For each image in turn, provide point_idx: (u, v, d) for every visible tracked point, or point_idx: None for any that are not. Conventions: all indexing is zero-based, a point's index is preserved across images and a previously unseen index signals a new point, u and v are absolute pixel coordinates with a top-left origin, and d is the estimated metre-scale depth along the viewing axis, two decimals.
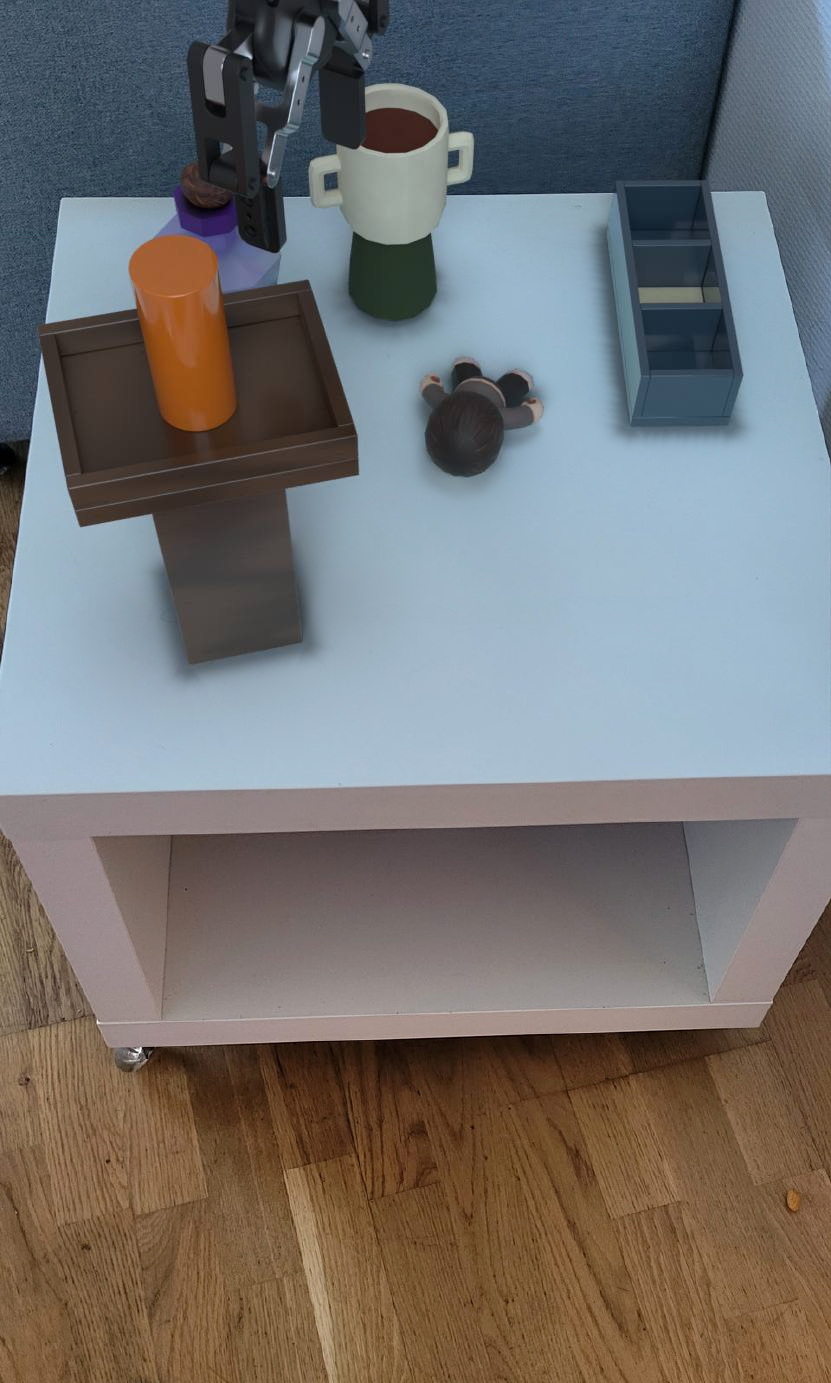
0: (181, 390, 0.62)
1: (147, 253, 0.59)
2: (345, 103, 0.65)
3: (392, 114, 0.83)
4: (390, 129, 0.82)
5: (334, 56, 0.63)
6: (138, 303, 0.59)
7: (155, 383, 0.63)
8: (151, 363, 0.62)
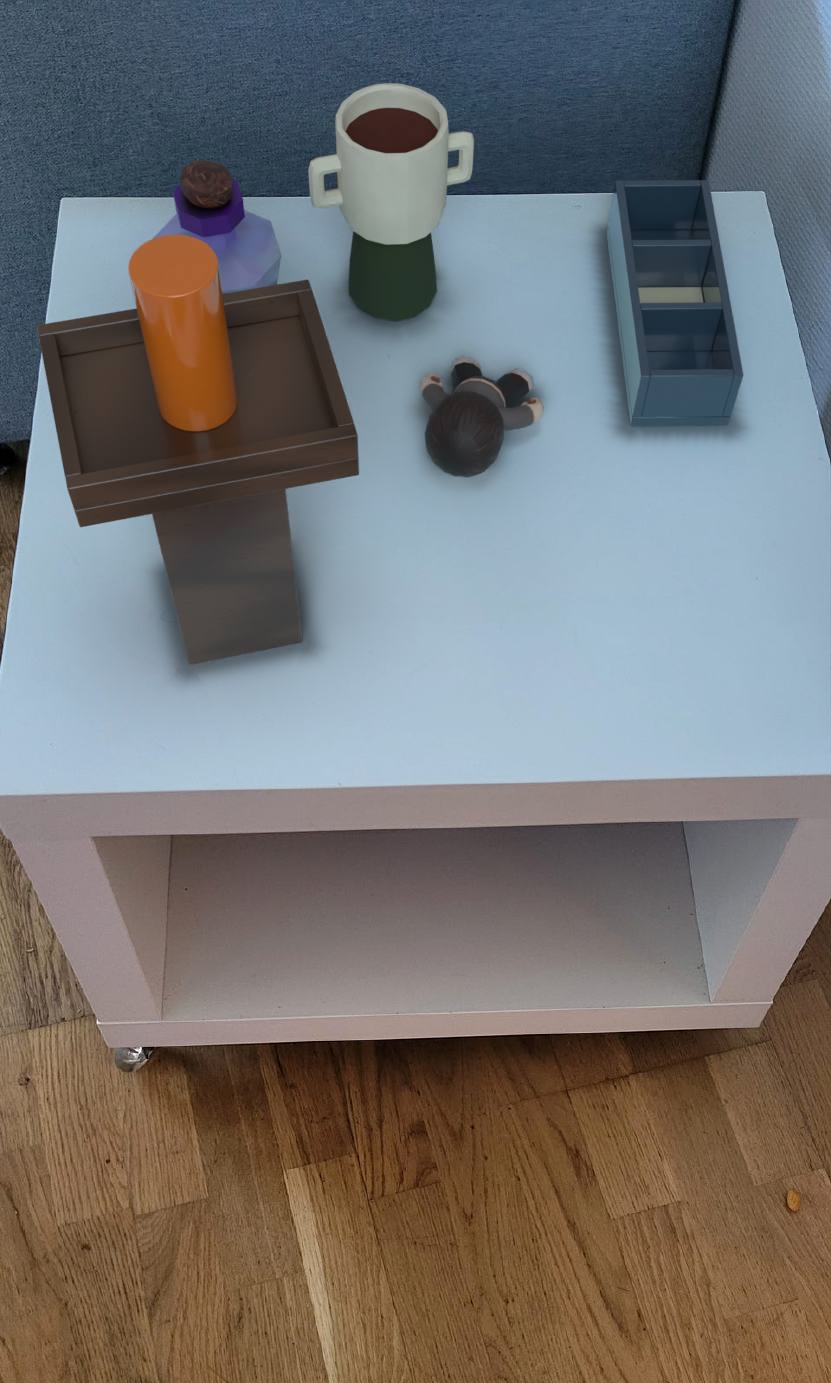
0: (181, 390, 0.62)
1: (147, 253, 0.59)
2: None
3: (392, 114, 0.83)
4: (390, 129, 0.82)
5: None
6: (138, 303, 0.59)
7: (155, 383, 0.63)
8: (151, 363, 0.62)
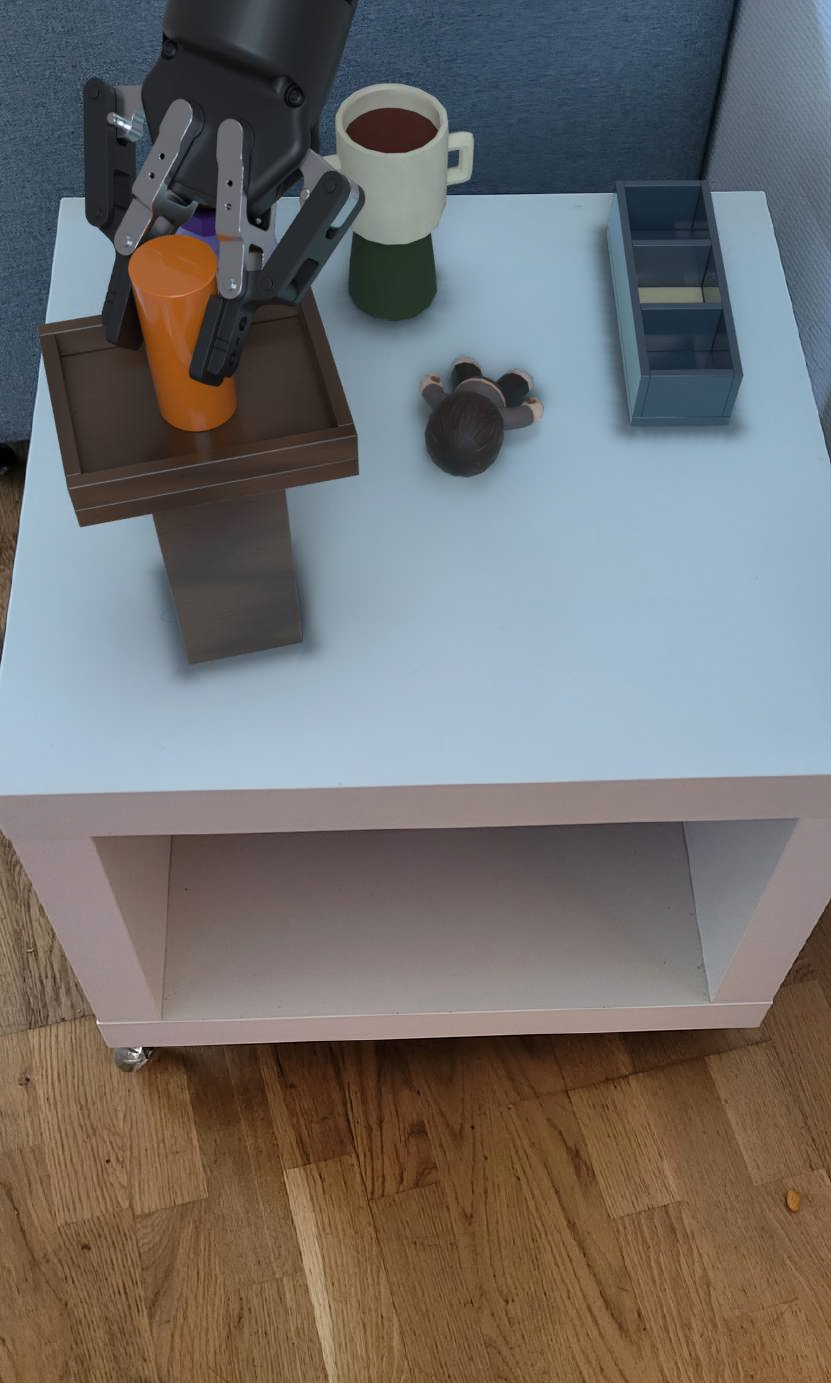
0: (181, 390, 0.62)
1: (147, 253, 0.59)
2: None
3: (392, 114, 0.83)
4: (390, 129, 0.82)
5: None
6: (138, 303, 0.59)
7: (155, 383, 0.63)
8: (151, 363, 0.62)
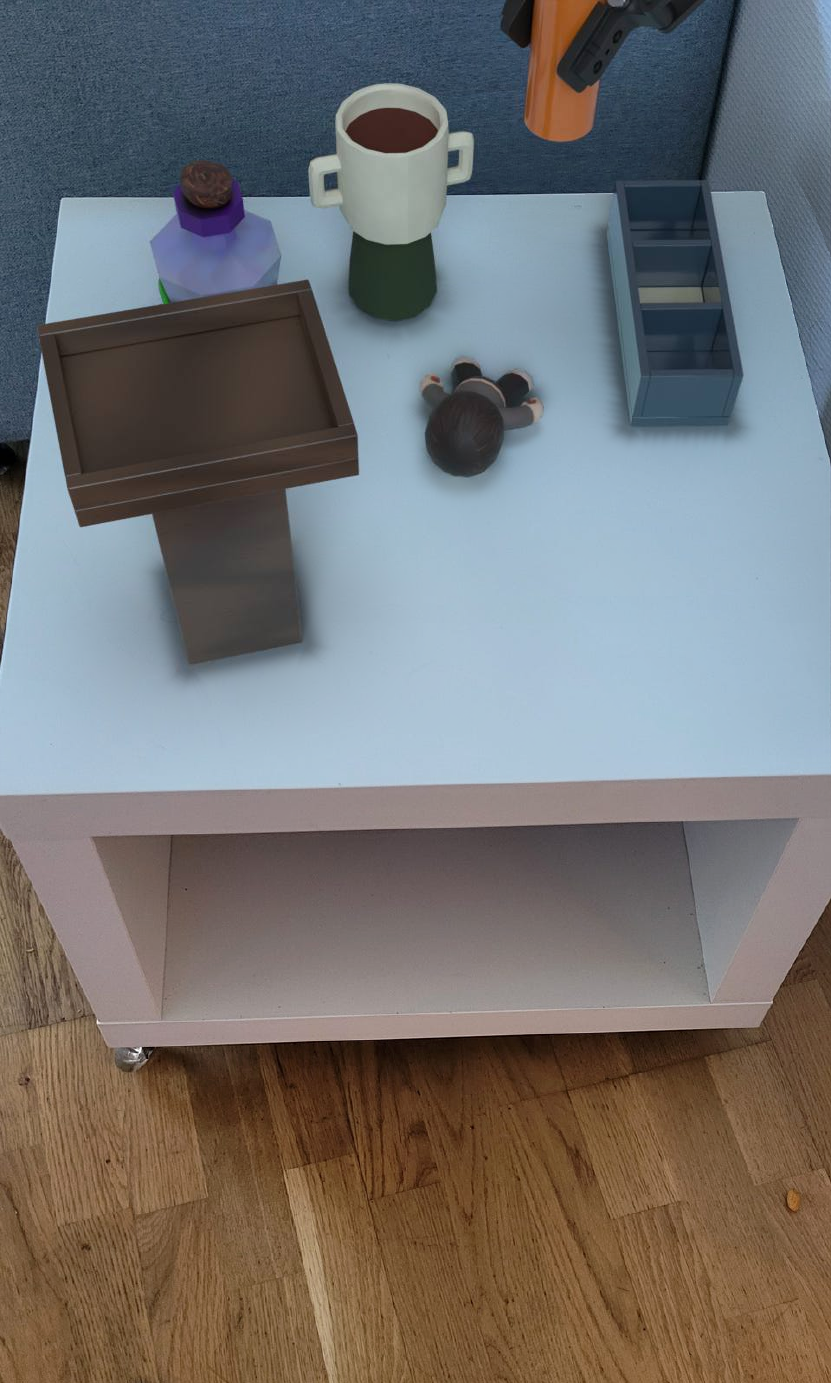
0: (546, 92, 0.70)
1: None
2: None
3: (392, 114, 0.83)
4: (390, 129, 0.82)
5: None
6: None
7: (528, 83, 0.71)
8: (530, 61, 0.70)
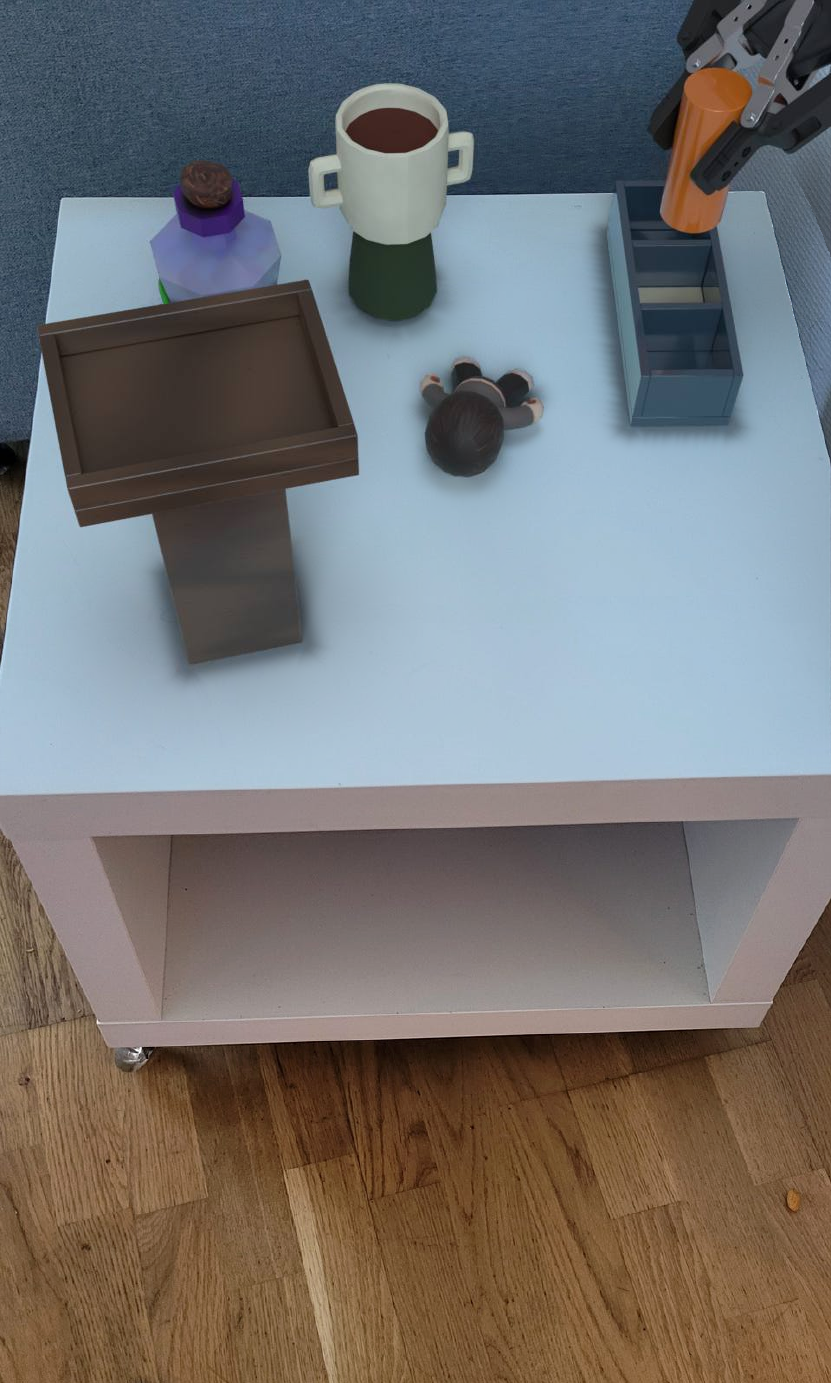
0: (681, 191, 0.80)
1: (705, 75, 0.77)
2: None
3: (392, 114, 0.83)
4: (390, 129, 0.82)
5: None
6: (680, 108, 0.77)
7: (666, 180, 0.81)
8: (670, 162, 0.80)
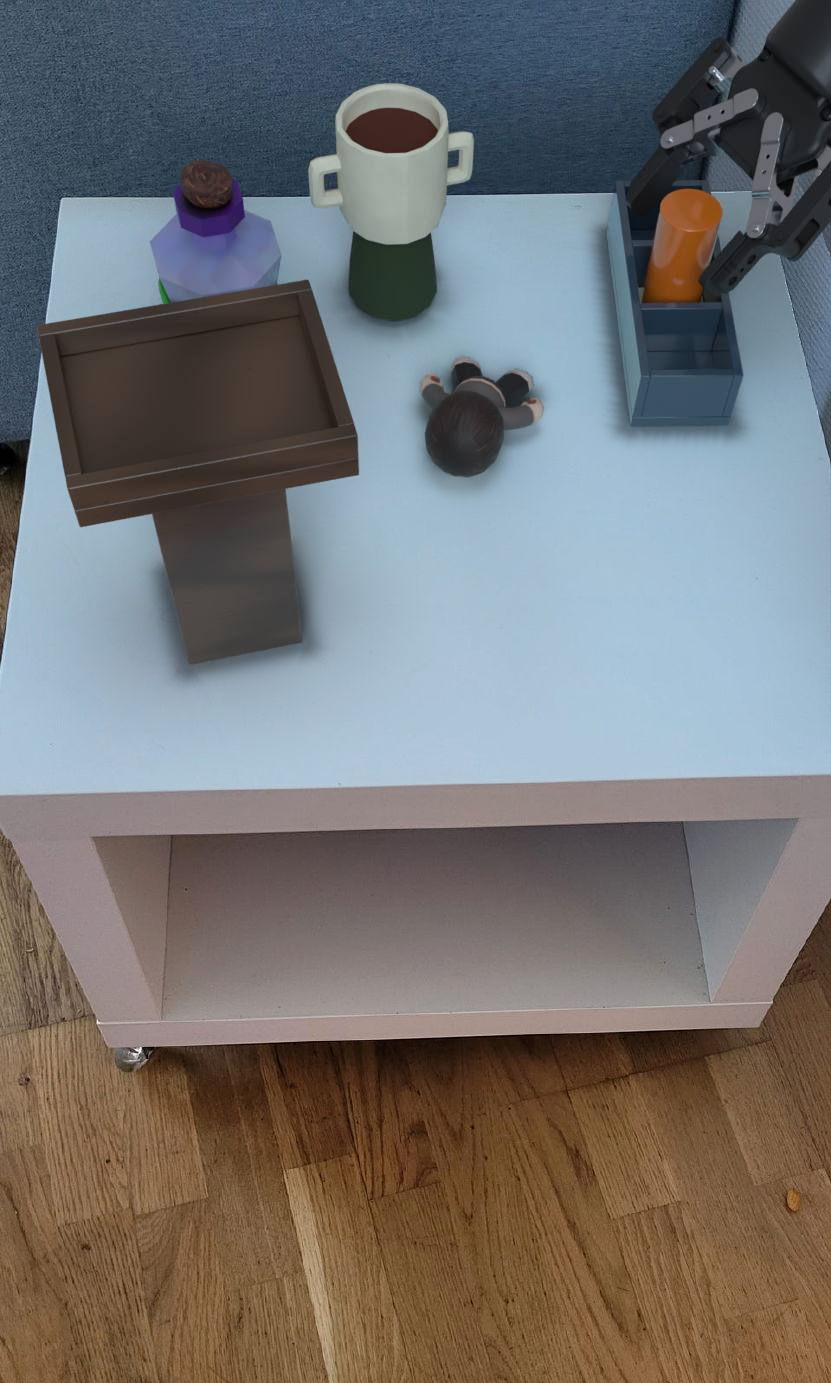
0: (658, 297, 0.87)
1: (679, 196, 0.84)
2: None
3: (392, 114, 0.83)
4: (390, 129, 0.82)
5: None
6: (657, 225, 0.84)
7: (644, 286, 0.88)
8: (648, 271, 0.87)
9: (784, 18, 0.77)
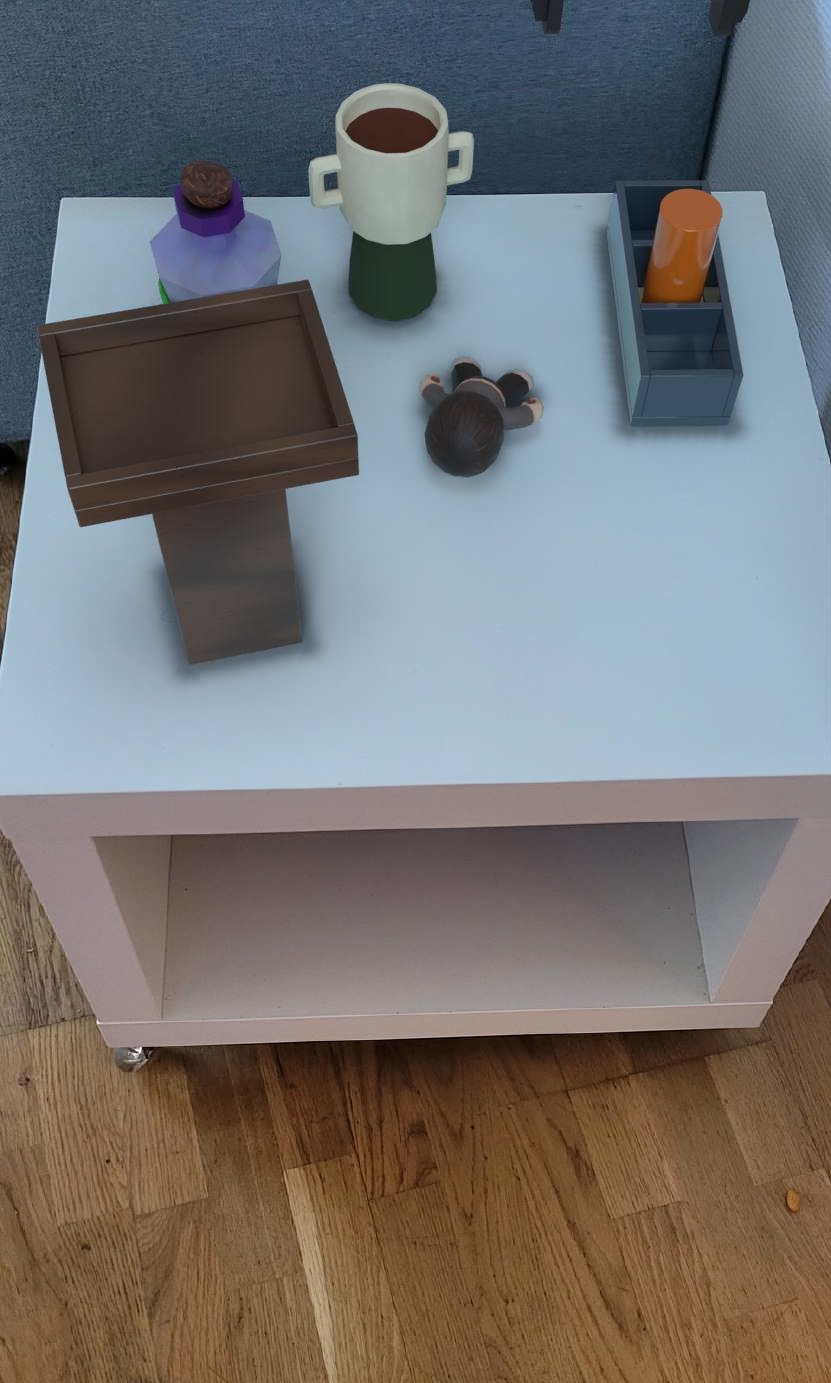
0: (658, 297, 0.87)
1: (679, 196, 0.84)
2: None
3: (392, 114, 0.83)
4: (390, 129, 0.82)
5: None
6: (657, 225, 0.84)
7: (644, 286, 0.88)
8: (648, 271, 0.87)
9: None
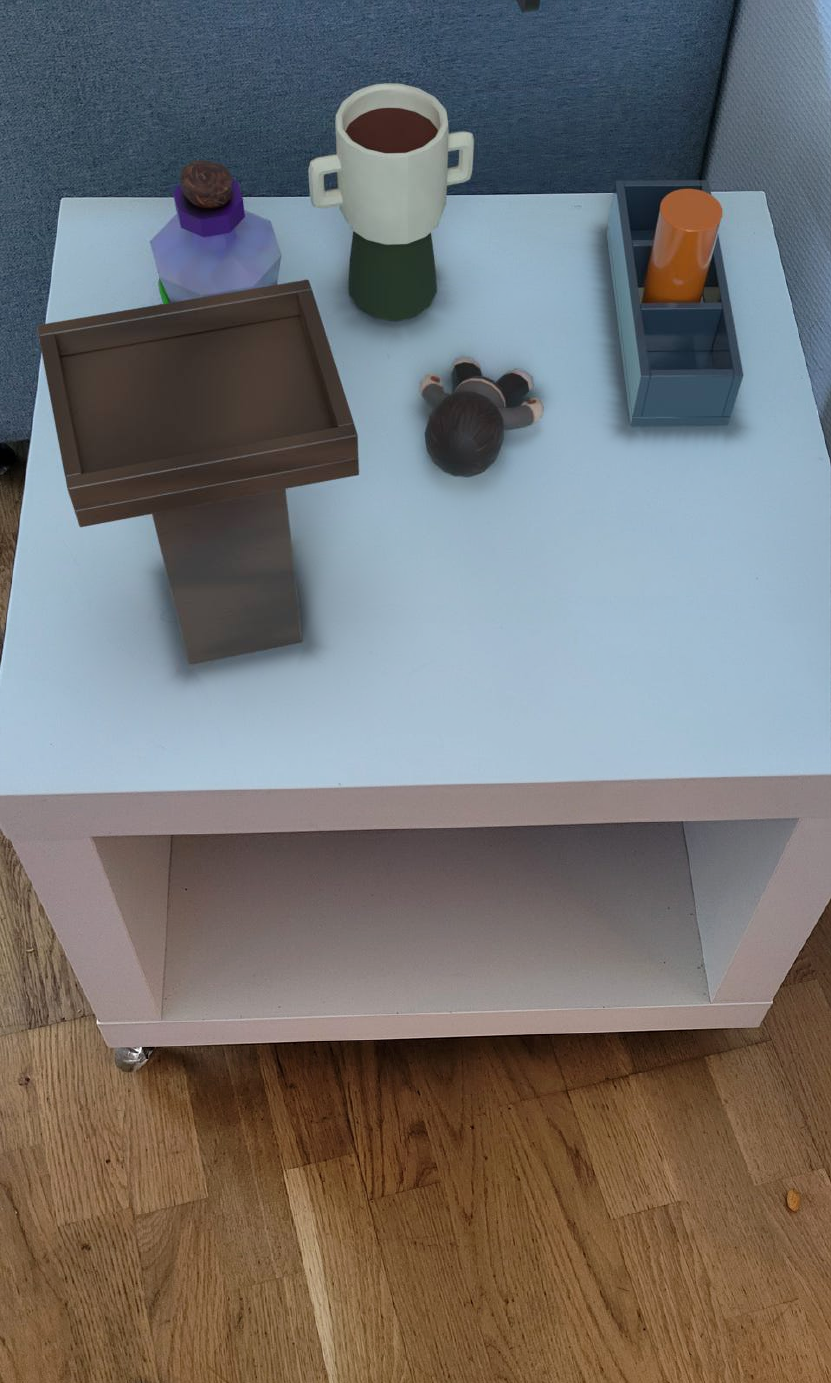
0: (658, 297, 0.87)
1: (679, 196, 0.84)
2: None
3: (392, 114, 0.83)
4: (390, 129, 0.82)
5: None
6: (657, 225, 0.84)
7: (644, 286, 0.88)
8: (648, 271, 0.87)
9: None
